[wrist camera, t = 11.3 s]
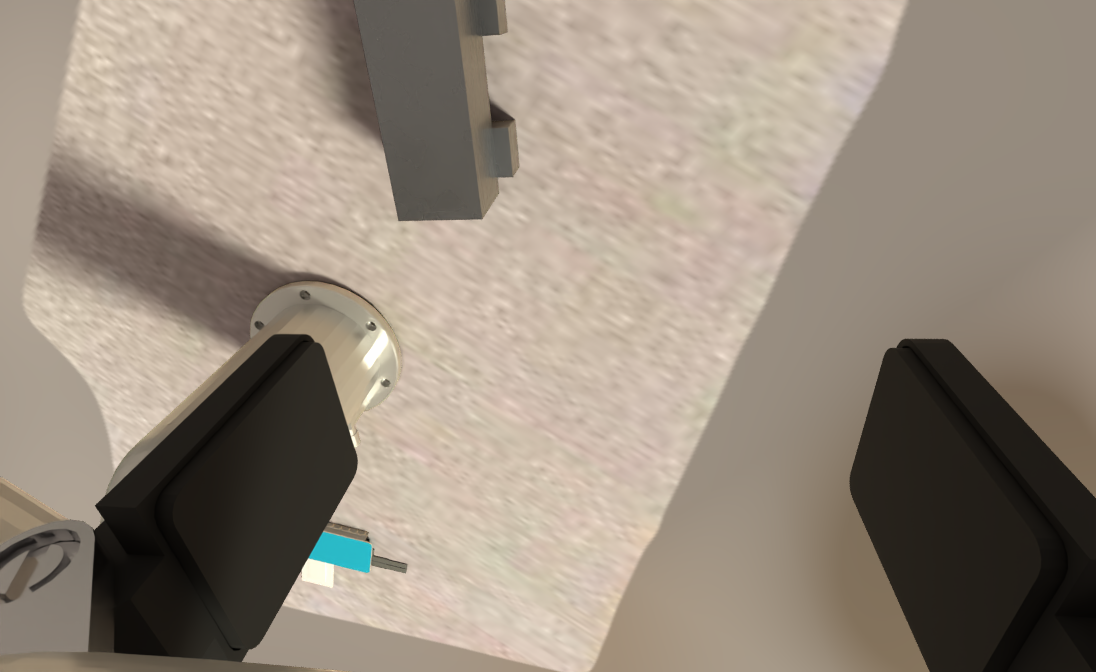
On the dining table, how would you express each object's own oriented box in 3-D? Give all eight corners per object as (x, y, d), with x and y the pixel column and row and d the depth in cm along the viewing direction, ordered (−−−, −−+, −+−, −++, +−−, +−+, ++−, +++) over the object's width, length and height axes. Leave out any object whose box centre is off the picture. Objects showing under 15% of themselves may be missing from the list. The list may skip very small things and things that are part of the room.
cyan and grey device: (236, 557, 66) (227, 569, 65) (228, 487, 60) (218, 499, 58) (403, 599, 66) (398, 612, 65) (413, 533, 60) (407, 546, 59)
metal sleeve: (520, 181, 39) (499, 218, 32) (421, 184, 40) (382, 221, 33) (501, -38, 32) (470, -46, 26) (384, -28, 33) (326, -33, 27)
